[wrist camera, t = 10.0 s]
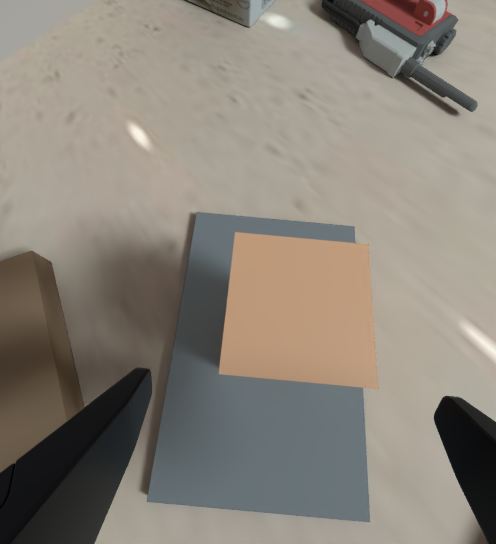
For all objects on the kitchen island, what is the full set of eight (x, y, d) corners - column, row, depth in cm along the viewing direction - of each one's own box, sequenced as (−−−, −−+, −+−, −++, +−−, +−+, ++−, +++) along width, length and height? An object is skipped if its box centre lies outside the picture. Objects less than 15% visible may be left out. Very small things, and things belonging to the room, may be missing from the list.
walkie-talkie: (304, 23, 31) (457, 127, 26) (314, -31, 27) (498, 81, 22) (355, -6, 33) (504, 85, 28) (371, -60, 29) (550, 36, 24)
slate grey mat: (365, 516, 15) (370, 522, 15) (150, 496, 15) (146, 501, 15) (351, 230, 22) (354, 226, 21) (197, 216, 22) (196, 212, 21)
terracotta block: (302, 380, 17) (378, 388, 8) (229, 373, 17) (218, 374, 8) (303, 308, 19) (368, 244, 9) (237, 302, 19) (234, 232, 9)
